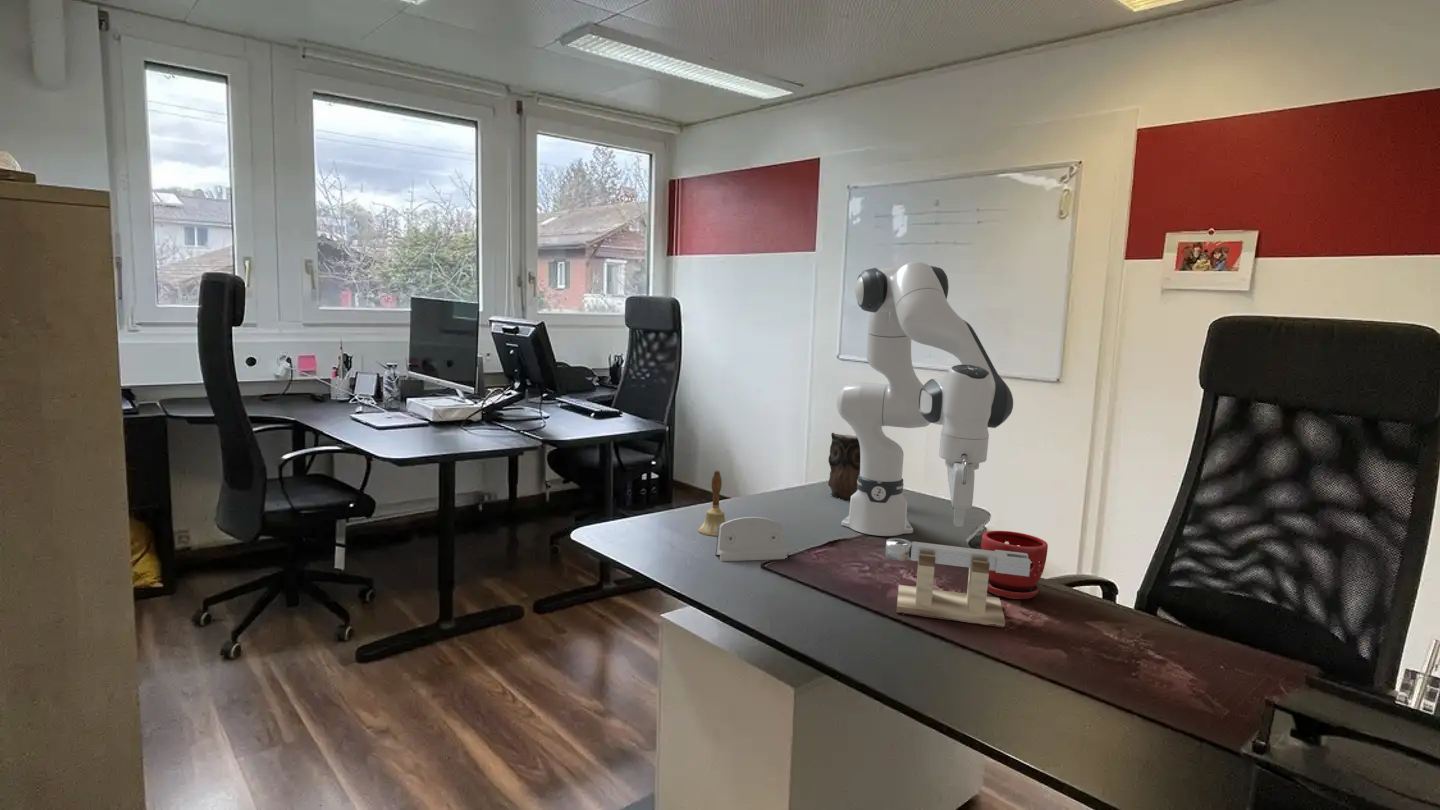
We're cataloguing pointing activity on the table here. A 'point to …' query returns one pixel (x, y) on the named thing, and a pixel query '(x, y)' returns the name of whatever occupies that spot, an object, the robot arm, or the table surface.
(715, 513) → the hand bell
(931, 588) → the tool rest
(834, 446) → the owl
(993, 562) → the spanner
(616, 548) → the table surface
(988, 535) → the plant pot
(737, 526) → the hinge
